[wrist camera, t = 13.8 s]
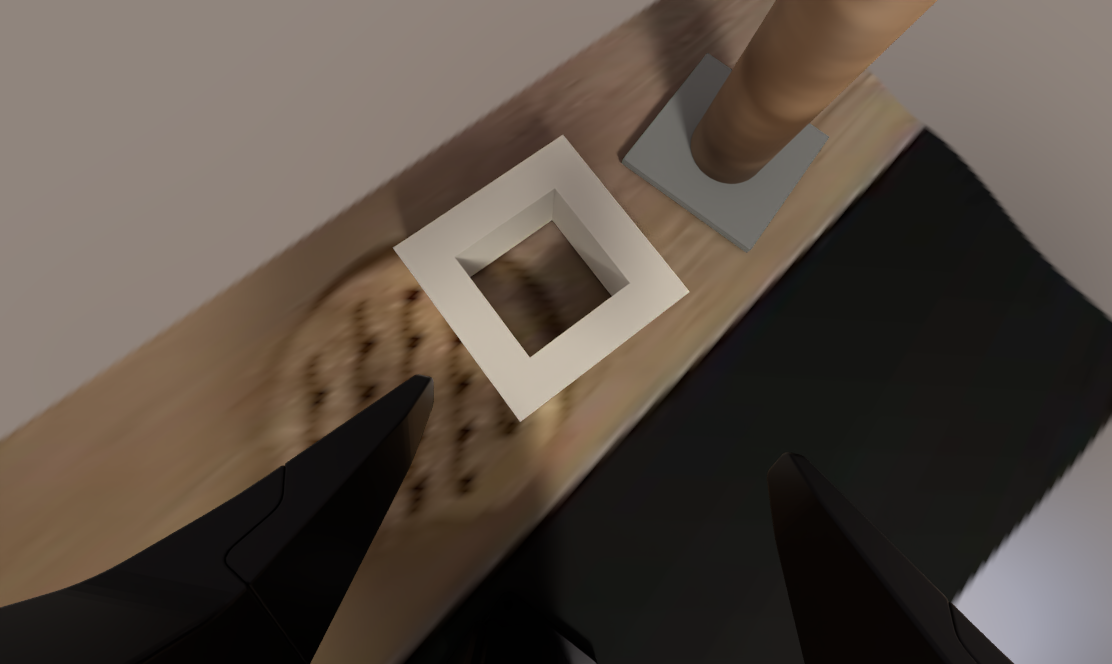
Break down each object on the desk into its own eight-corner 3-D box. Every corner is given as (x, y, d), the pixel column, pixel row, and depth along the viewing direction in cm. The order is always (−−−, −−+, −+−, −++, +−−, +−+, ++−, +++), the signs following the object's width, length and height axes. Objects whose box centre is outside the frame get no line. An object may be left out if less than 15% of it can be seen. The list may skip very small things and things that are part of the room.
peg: (778, 143, 26) (1021, -98, 13) (738, 198, 25) (954, -1, 12) (717, 99, 26) (897, -181, 13) (676, 153, 25) (824, -90, 12)
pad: (823, 141, 27) (829, 137, 26) (746, 252, 25) (750, 249, 25) (704, 58, 27) (707, 52, 27) (621, 163, 26) (623, 158, 25)
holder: (664, 307, 24) (689, 291, 20) (523, 416, 23) (520, 422, 19) (558, 174, 25) (562, 134, 21) (416, 271, 24) (392, 247, 20)
